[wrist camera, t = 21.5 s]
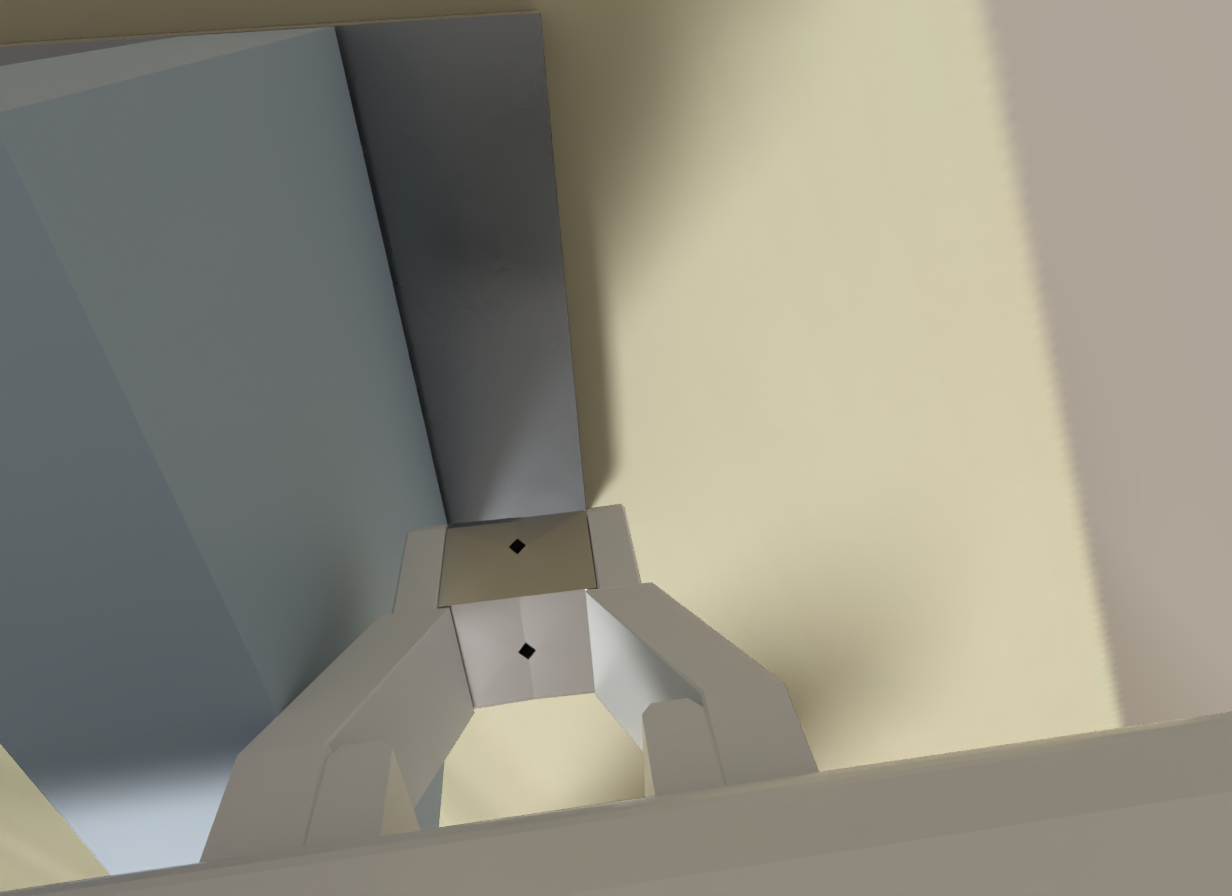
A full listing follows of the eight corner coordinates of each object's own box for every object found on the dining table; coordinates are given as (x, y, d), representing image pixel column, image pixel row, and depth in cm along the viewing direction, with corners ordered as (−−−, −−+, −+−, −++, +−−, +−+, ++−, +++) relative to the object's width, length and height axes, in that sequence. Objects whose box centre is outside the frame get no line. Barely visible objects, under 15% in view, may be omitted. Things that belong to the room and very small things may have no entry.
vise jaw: (337, 593, 18) (208, 1051, 10) (139, 38, 11) (-628, 159, 4) (459, 578, 18) (422, 1016, 10) (334, 26, 12) (-9, 115, 4)
